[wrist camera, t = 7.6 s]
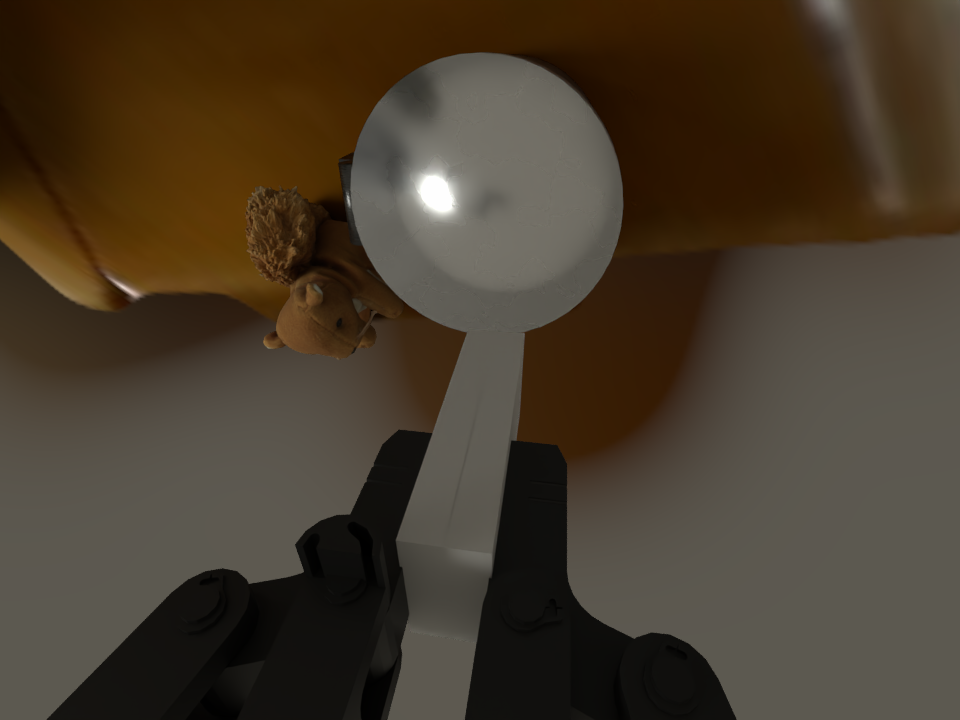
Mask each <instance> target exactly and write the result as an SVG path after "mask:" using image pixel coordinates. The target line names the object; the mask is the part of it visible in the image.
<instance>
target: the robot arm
mask: <svg viewBox="0 0 960 720" xmlns="http://www.w3.org/2000/svg"><path fill="white" fill-rule="evenodd" d="M524 336H525V335H524V333H514V332H501V331H488V330H476V329H468V332H467V335H466V338H465V341H464V344H463V347H462V349H461V352H460V355H459V358H458V361H457V364H456V367H455V370H454V373H453V376H452V379H451V381H450V384H449V387H448V390H447V393H446V396H445V399H444V402H443V405H442V408H441V410H440V413H439V417H438V419H437V422H436V425H435V428H434V431H433V433H425V432H416V431H407V430H398V431H397V432H396V433H395V434H394V435H392V436H391V437H390V438H389V439H388V440H387V441H386V442H385V443H384V444H383V445H382V447H381V449H380V451H379V453H378V455H377V458H376V460H375V462H374V467H372V468H371V471H370V473H369V475H368V477H367V482H366V483H365V484H364V486H363V488H362V490H361V493H360V495H359V497H358V499H357V501H356V504H355V506H354V508H353V510H352V512H351V514H350V515H336V516H333V517H330V518H327V519H324V520H321V521H319V522H318V523H317V524H315V525H314V526H312V527H311V528H310V529H308V530H307V531H305V533H304V534H303V535H302V537H301V538H300V539H299V540H298V542H297V543H296V544H295V546H296V549H297V552H298V555H299V558H300V561H301V564H302V566H303V569H304V572H303V573H301V574H298V575H294V576H291V577H287V578H281V579H276V580H270V581H264V582H259V583H252V584H248V581H247V580H246V579H245V578H244V577H243V576H242V575H240V574H239V573H238V572H237V571H233V570H228V569H223V568H222V569H216V570H211V571H205V572H203V573H201V574H199V575H197V576H195V577H192V578H191V579H188V580H187V581H186V582H184V583H183V584H182V585H181V586H179V587H178V588H177V589H176V590H174V591H173V592H172V593H171V594H170V595H169V596H168V597H167V598H166V599H165V600H164V601H163V602H162V603H161V604H160V605H159V606H158V607H157V608H156V609H155V610H154V611H153V612H152V613H151V614H150V615H149V616H148V617H147V618H146V619H145V620H144V621H143V622H142V623H141V624H140V625H139V626H138V627H137V628H136V629H135V630H134V631H133V632H132V633H131V634H130V635H129V636H128V638H126V639H125V641H124V642H123V643H122V644H121V645H120V646H119V647H118V648H117V649H116V650H115V651H114V652H113V653H112V654H111V655H110V656H109V657H108V658H107V659H106V660H105V661H104V662H103V663H102V664H101V665H100V666H99V667H98V668H97V669H96V670H95V671H94V672H93V673H92V674H91V675H90V676H89V677H88V678H87V679H86V680H85V681H84V682H83V683H82V684H81V685H80V686H79V687H78V688H77V689H76V690H75V691H74V692H73V693H72V694H71V695H70V696H69V697H68V698H67V699H66V700H65V701H64V702H63V703H62V704H61V705H60V706H59V708H57V709H56V711H55V712H54V713H53V714H52V715H51V716H50V717H49V718H48V719H47V720H387V719H388V715H389V711H390V707H391V703H392V700H393V696H394V692H395V688H396V684H397V681H398V677H399V673H400V669H401V659H402V650H401V642H402V639H403V635H404V631H405V628H406V624H407V620H408V623H409V630H410V632H414V633H420V634H426V635H432V636H438V637H445V638H451V639H457V640H464V641H470V642H476V643H477V644H476V651H475V657H474V663H473V670H472V677H471V683H470V689H469V696H468V702H467V709H466V715H465V720H736V717H735V715H734V713H733V711H732V708H731V706H730V704H729V702H728V700H727V697H726V695H725V693H724V691H723V688H722V686H721V684H720V682H719V680H718V678H717V676H716V675H715V673H714V672H713V670H712V668H711V667H710V665H709V664H708V662H707V660H706V659H705V658H704V657H703V656H702V655H701V654H700V653H698V652H697V651H696V650H695V649H694V648H693V647H692V646H691V645H690V644H688V643H686V642H684V641H682V640H680V639H678V638H676V637H674V636H672V635H668V634H660V633H649V634H646V635H643V636H640V637H636V638H635V639H633V638H631V637H630V636H628V635H625V634H624V633H622V632H619V631H617V630H615V629H613V628H611V627H609V626H607V625H605V624H603V623H602V622H600V621H599V620H597V619H596V618H594V617H592V616H591V615H590V614H589V613H588V612H587V611H586V610H584V608H583V607H582V606H581V605H580V604H579V602H578V601H577V599H576V598H575V597H574V595H573V593H572V590H571V588H570V585H569V583H568V576H567V463H566V461H565V459H564V457H563V455H562V453H561V452H560V450H559V448H558V446H557V445H550V444H540V443H532V442H523V441H516V437H517V429H518V421H519V414H520V398H521V383H522V366H523V351H524Z"/></svg>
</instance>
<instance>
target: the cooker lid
mask: <svg viewBox="0 0 960 720" xmlns="http://www.w3.org/2000/svg"><path fill="white" fill-rule="evenodd" d="M338 165H339V172H340V178H341V185H342V191H343V198H344V204H345V211H346V217H347V224H348V230H349V237H350V243H351V244H353V245H358V246H362V245H363V247H364V249H365V251H366V253H367V256H368V257H369V259H370V261H371V262H372V264H373V266H374V267H375V269H376V271H377V272H378V273H379V275H380V276H381V277H382V279H383V280H384V281H385V283H386V284H387V285H388V286H389V287H390V288H391V289H392V290H393V291H394V292H395V293H396V295H398V296H399V297H400V298H401V299H402V300H403V301H404V302H406V303H407V304H408V305H409V306H411V307H412V308H413V309H415V310H416V311H418V312H419V313H421V314H422V315H424V316H426V317H428V318H429V319H431V320H433V321H435V322H437V323H440V324H442V325H444V326H447V327H449V328H453V329H456V330H460V331H463V332H468V329H476V330H488V331H501V332H514V333H520V332H525V331H529V330H532V329H535V328H538V327H541V326H543V325H545V324H548V323H550V322H552V321H554V320H556V319H557V318H559V317H561V316H562V315H564V314H566V313H567V312H569V311H570V310H571V309H572V308H574V307H575V306H576V305H577V304H579V303H580V302H581V301H582V300H583V299H584V298H585V297H586V296H587V295H588V294H589V293H590V291H591V290H592V289H593V288H594V286H595V285H596V283H597V282H598V281H599V279H600V278H601V277H602V275H603V273H604V272H605V270H606V268H607V266H608V264H609V263H610V261H611V258H612V256H613V253H614V250H615V248H616V245H617V242H618V238H619V233H620V229H621V224H622V214H623V186H622V179H621V173H620V167H619V162H618V158H617V155H616V152H615V149H614V145H613V142H612V140H611V138H610V136H609V134H608V132H607V129H606V127H605V125H604V123H603V122H602V120H601V119H600V117H599V116H598V114H597V113H596V111H595V110H594V108H593V107H592V105H591V104H590V103H589V102H588V101H587V100H586V99H585V97H584V96H583V95H582V94H581V93H580V92H579V91H578V90H577V89H576V88H575V87H573V86H572V85H571V84H570V83H569V82H568V81H566V80H565V79H564V78H563V77H561V76H560V75H558V74H556V73H555V72H553V71H551V70H550V69H548V68H546V67H545V66H542V65H540V64H538V63H535V62H533V61H530V60H528V59H525V58H521V57H517V56H513V55H509V54H503V53H491V52H481V53H467V54H458V55H454V56H450V57H445V58H441V59H438V60H436V61H433V62H431V63H428V64H426V65H424V66H421V67H420V68H418V69H416V70H415V71H413V72H411V73H410V74H408V75H407V76H405V77H404V78H402V79H401V80H400V81H399V82H398V83H397V84H395V85H394V86H393V87H392V88H391V89H390V90H389V91H388V92H387V93H386V94H385V95H384V96H383V98H382V99H381V100H380V101H379V102H378V103H377V105H376V106H375V108H374V110H373V111H372V113H371V114H370V116H369V117H368V119H367V121H366V123H365V125H364V127H363V130H362V132H361V134H360V136H359V139H358V143H357V146H356V149H355V153H354V157H353V160H349V161H342V162H339V163H338Z"/></svg>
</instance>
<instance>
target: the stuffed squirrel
mask: <svg viewBox="0 0 960 720" xmlns="http://www.w3.org/2000/svg"><path fill="white" fill-rule="evenodd" d="M279 187H280V190H279V192H278V191H275V190H272V188H271V187H270V188H264V187H261V186H260V187H255V190H256V192H255V194H254V193H253V192H252V194H253V196H252V197H251V198H250V197H249V199H247V200H248V202H249V203H248V204H249V206H247V207H246V209H247V212H246V213H245V215H246V219H247V227H246V229H245V230H246V232H247V234H246V237H247V239H248V246H249V248H250V249H248V250H246V251H247V252H249V253H250V254H251V255H250V257H251V259H252V261H253V262H255V267H256V268H257V269H258V270H259V271H260V272H262V273H263V274H259V275H261V276H263V277H265V279H266V281H267V280H270V281H272V282H273V281H275V282H278V283H279V284H280V285H281V284H282V285H284V286H286V287H290V288H291V296H290V298H289V299H288V301H287V302H286V304H285V305H284V307H283V309H282V310H281V312H280V315H279V317H278V320H277V325H276V331H275V332H272V333H270V334H268V335H266V336H265V338H264V341H263V342H264V344H265V345H266V347H267V348H270V349H277V348H281V347H284V346H285V345H287V346H288V347H290V348H291V349H293V350H296V351H298V352H301V353H306V354H321V355H326V356H331V357H334V358H337V360H341V358H347V357H348V356H349V355H351V354H352V353H354V352H355V350H356V348H370V347H371V346H373V345H374V343H375V340H376V332H375V329H374V328H373V327H372V326H371V325H370V324H371V321H372V319H373V316H374V315H375V314H376V313H379V314H381V315H384V316H386V317H388V318H396V317H397V316H399V315H400V314H401V313H402V311H403V301H402V300H401V298H400V297H399V296H398V295H396V293H395V292H394V291H393V290H392V289H391V288H389V287H388V286H387V284H386V283H385V281H384V280H383V279H382V277H381V276H380V275H379V273H378V272H377V271H376V269H375V267H374V266H373V264H372V262H371V261H370V259H369V257H368V256H367V253H366V251H365V249H364V247H363V245H362V246H358V245H353V244H351V243H350V237H349V230H348V224H347V222H342V221H335V220H332V219H331V217H330V216H329V212H328V211H326V210H325V209H324V207H322V205H319V206H318V205H317V206H316V204H313V203H309V202H308V199H303V198H302V197H301V195H300V194H298V193H297V186H295V188H293V189H291V191H290V190H289V189H287V190H285V191H284V190H283V189H282V188H281V186H279ZM370 309H371V310H373V311H371V317H370Z"/></svg>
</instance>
